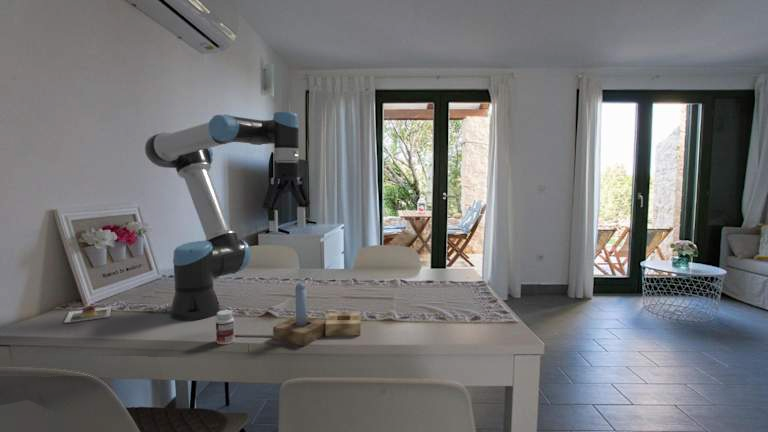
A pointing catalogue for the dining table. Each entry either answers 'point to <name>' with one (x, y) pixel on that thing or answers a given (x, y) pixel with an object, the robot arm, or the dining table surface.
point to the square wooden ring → (299, 331)
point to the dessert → (87, 313)
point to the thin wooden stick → (254, 335)
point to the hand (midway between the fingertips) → (288, 229)
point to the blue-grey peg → (301, 305)
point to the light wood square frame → (343, 324)
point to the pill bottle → (225, 327)
